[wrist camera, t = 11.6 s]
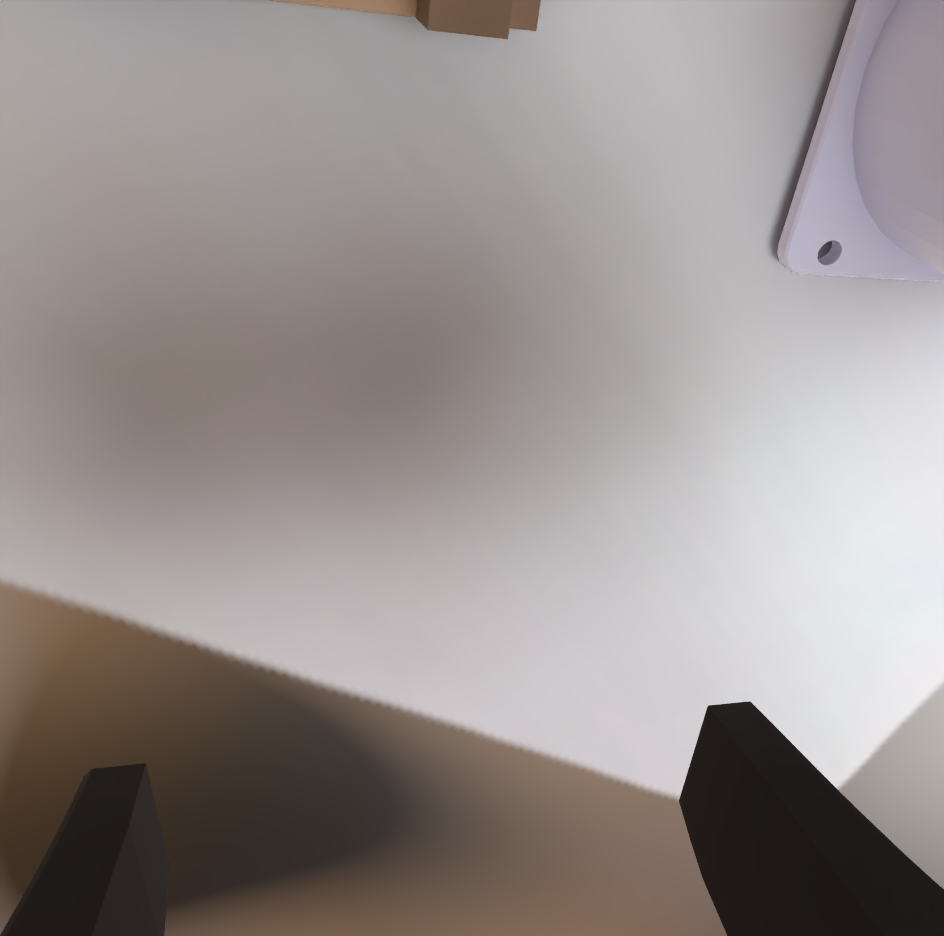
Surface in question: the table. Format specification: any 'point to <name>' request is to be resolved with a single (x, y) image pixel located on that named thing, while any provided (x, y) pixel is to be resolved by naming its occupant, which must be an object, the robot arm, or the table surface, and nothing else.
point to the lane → (451, 13)
